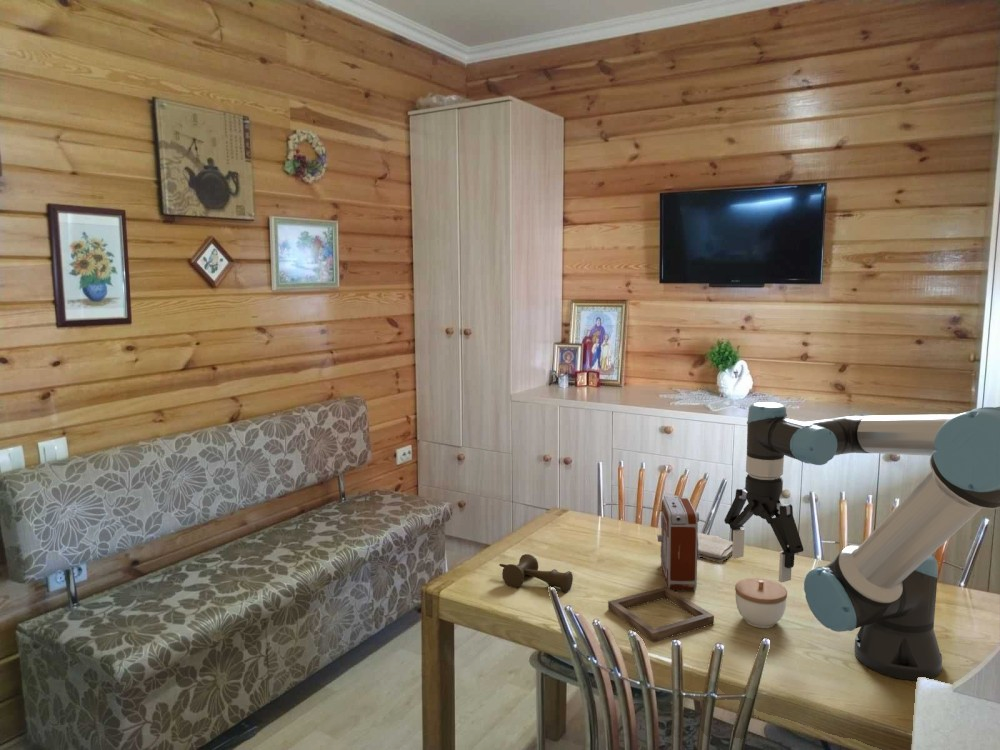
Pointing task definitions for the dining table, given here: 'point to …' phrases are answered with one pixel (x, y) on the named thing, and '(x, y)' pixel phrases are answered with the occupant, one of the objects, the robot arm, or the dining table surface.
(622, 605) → the brown wooden tray
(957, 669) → the dining table surface
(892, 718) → the dining table surface
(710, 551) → the washcloth
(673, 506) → the cine camera
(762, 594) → the lidded jar
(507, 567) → the kendama
